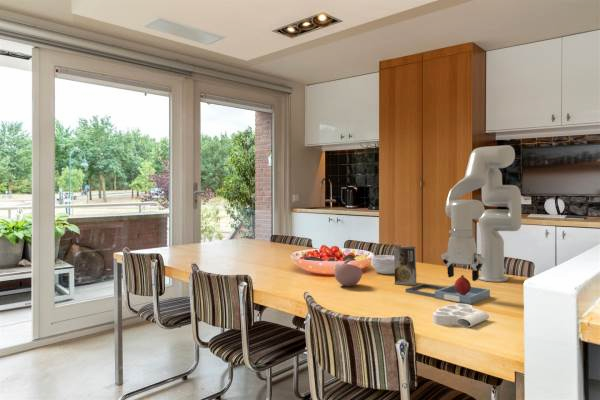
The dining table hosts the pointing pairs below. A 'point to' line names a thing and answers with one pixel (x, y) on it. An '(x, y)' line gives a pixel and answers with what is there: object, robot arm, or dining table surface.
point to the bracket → (413, 290)
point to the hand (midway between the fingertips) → (462, 278)
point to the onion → (462, 285)
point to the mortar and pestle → (347, 274)
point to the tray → (469, 298)
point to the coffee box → (405, 265)
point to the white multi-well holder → (459, 315)
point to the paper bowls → (383, 264)
